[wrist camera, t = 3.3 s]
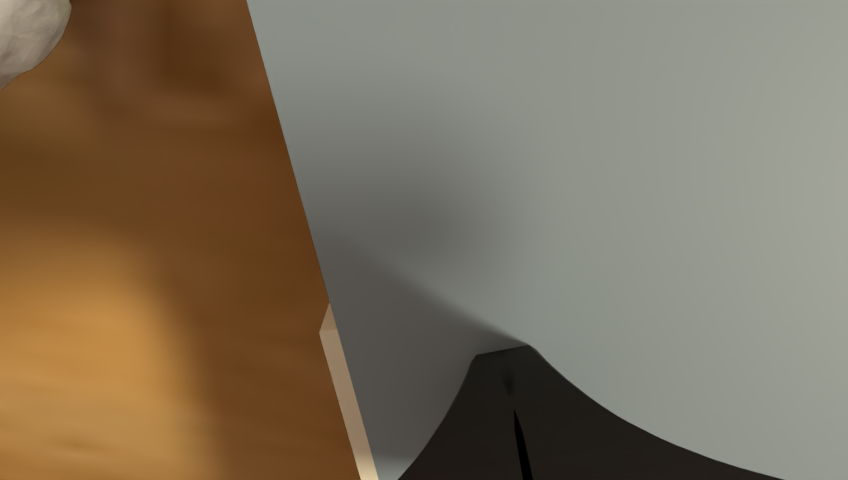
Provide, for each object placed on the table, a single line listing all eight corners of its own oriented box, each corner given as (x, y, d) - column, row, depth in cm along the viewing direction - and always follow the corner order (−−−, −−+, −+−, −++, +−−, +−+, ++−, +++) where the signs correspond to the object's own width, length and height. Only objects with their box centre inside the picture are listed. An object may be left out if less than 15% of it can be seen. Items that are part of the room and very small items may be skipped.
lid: (868, 535, 16) (983, 655, 13) (434, 619, 16) (439, 755, 13) (840, -125, 12) (995, -192, 9) (270, 8, 12) (221, -10, 9)
